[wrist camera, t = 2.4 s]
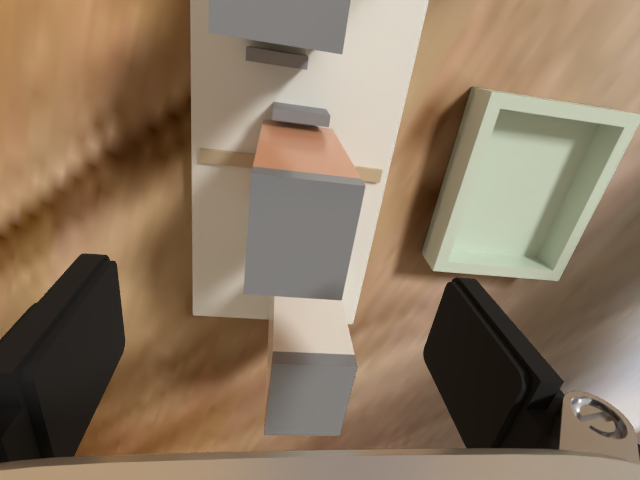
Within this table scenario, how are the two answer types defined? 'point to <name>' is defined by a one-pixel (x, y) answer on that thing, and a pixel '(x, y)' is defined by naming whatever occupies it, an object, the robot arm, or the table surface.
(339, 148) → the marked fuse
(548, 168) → the tray
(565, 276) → the table surface
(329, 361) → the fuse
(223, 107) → the board
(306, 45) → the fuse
